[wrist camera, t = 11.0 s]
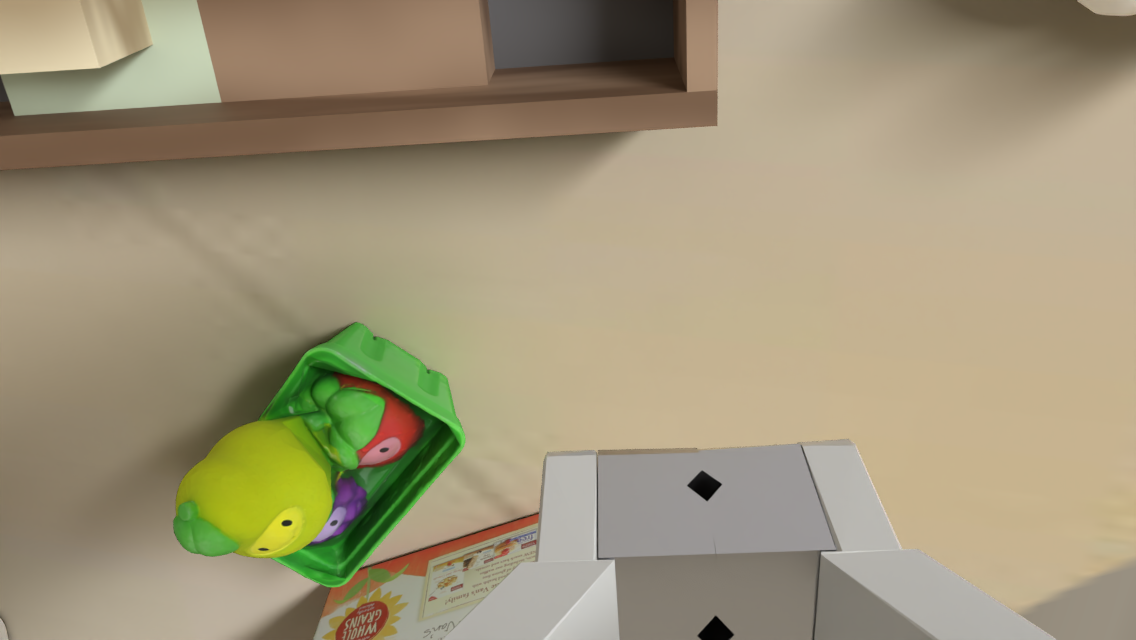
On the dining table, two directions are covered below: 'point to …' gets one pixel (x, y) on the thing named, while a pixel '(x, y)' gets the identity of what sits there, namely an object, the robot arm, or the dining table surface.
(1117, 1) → the white rounded piece
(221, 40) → the trap lane
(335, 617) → the cracker box
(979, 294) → the dining table surface
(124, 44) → the maple block
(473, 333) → the dining table surface
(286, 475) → the fruit basket
